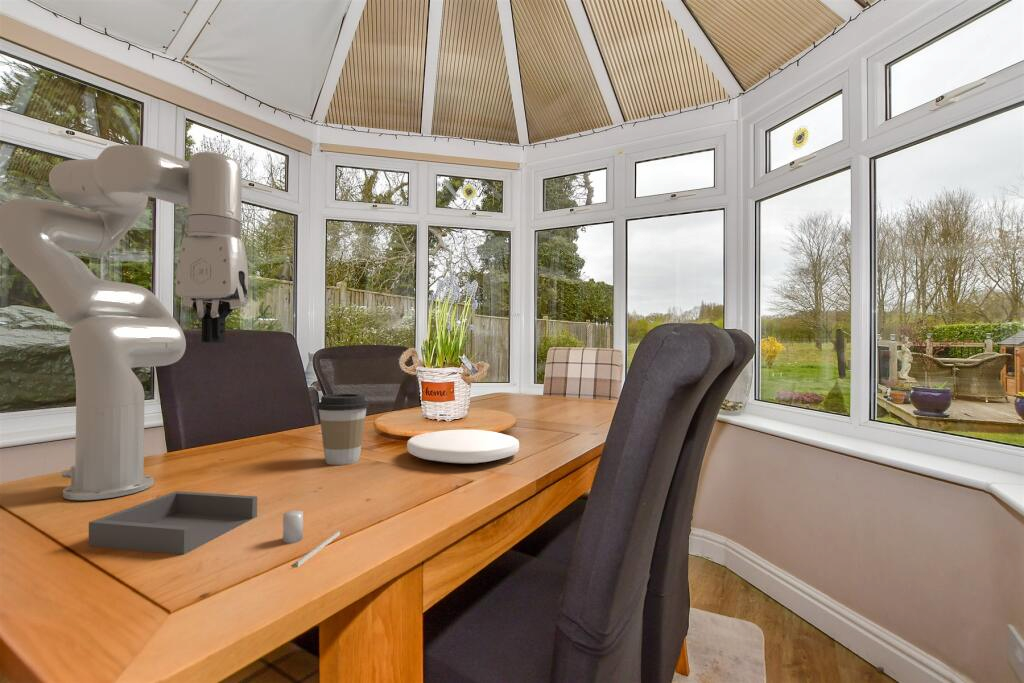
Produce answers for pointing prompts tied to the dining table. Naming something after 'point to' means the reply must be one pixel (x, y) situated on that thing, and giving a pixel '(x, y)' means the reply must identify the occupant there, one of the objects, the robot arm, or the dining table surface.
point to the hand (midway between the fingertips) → (213, 342)
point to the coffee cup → (342, 427)
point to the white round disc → (463, 446)
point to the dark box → (173, 522)
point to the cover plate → (300, 533)
